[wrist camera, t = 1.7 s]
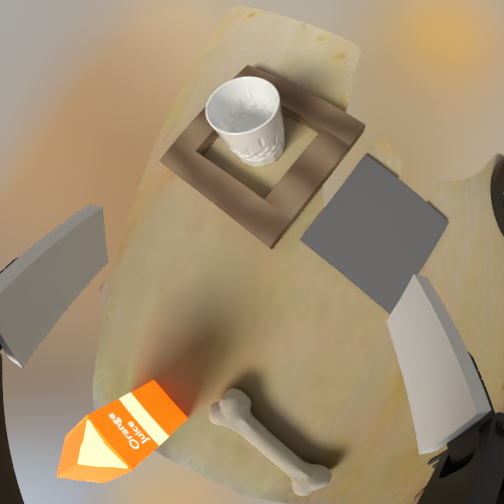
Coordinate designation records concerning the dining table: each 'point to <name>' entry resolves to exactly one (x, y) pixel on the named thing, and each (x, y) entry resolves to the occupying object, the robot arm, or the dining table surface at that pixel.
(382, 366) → the dining table surface
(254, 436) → the dog toy
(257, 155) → the white cup
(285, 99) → the puzzle board
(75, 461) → the orange juice
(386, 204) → the rubber mat
